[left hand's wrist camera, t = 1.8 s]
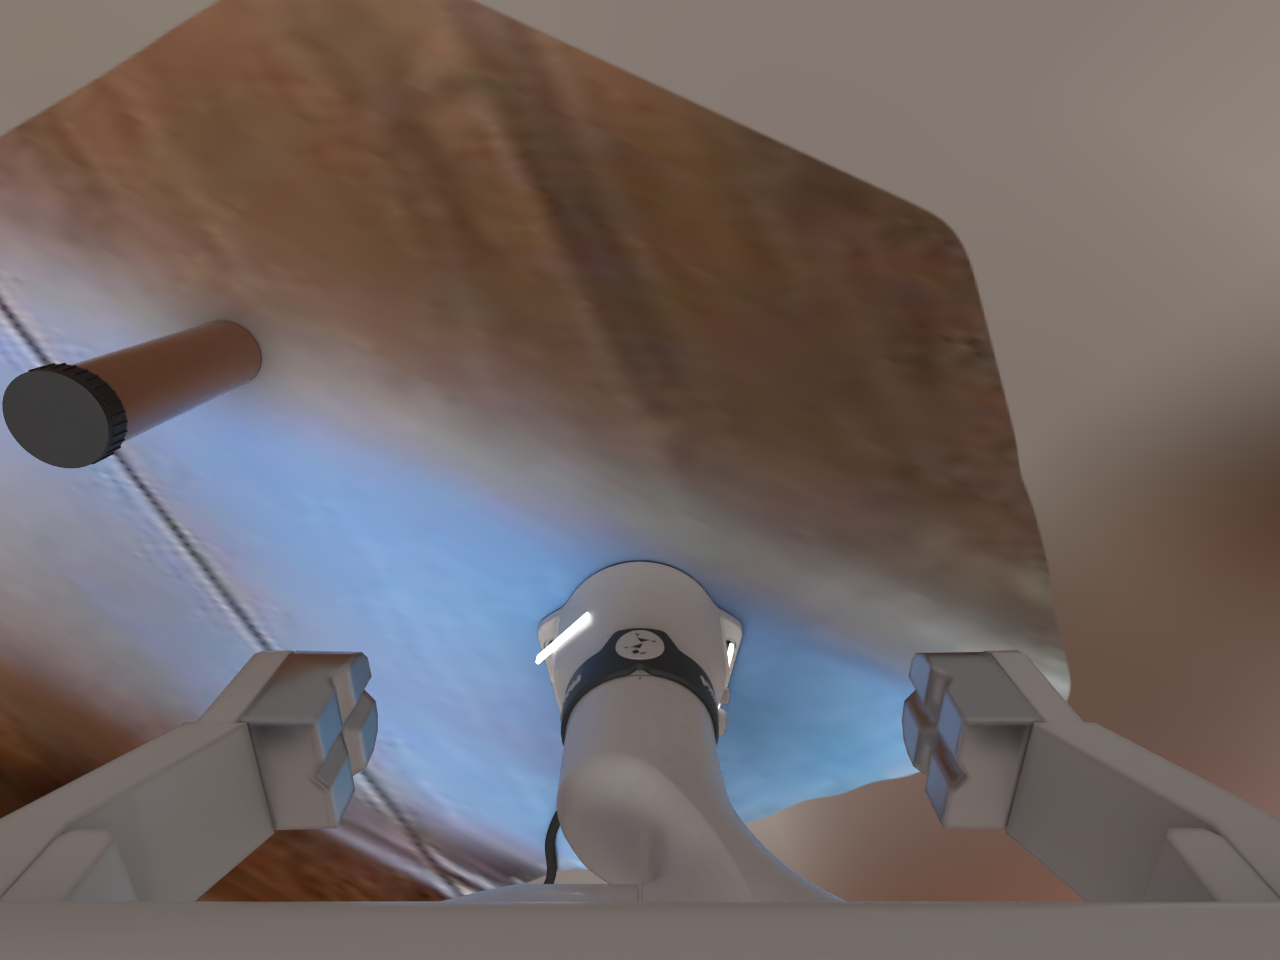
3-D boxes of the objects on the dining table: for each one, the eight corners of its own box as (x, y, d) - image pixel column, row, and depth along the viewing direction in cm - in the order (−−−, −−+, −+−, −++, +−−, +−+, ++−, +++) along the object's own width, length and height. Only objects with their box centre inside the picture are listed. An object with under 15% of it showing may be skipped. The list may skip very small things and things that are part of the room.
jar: (188, 365, 58) (6, 436, 41) (205, 308, 56) (23, 357, 39) (250, 395, 59) (97, 475, 42) (269, 339, 57) (118, 400, 40)
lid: (15, 432, 42) (-9, 441, 41) (35, 344, 40) (11, 350, 39) (116, 476, 43) (96, 486, 42) (140, 392, 41) (120, 399, 40)
